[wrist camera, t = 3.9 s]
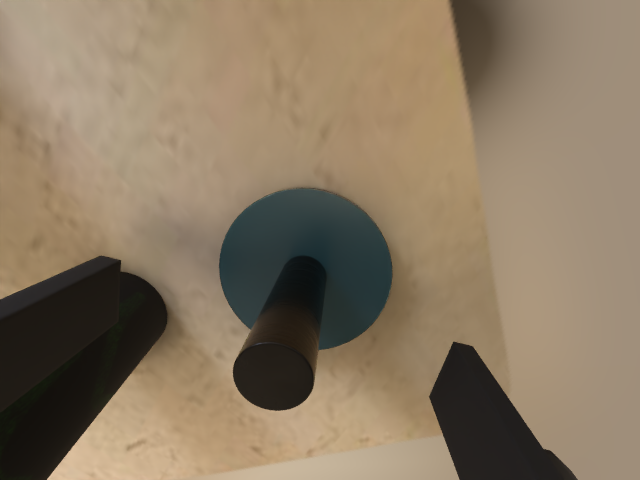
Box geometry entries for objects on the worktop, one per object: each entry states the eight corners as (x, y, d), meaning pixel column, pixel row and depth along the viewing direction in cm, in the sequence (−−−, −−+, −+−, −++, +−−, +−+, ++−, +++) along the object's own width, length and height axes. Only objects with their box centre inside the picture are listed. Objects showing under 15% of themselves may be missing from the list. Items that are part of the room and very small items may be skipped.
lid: (412, 210, 16) (491, 274, 8) (363, 355, 19) (381, 521, 11) (239, 167, 17) (125, 182, 8) (216, 319, 19) (113, 454, 11)
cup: (67, 245, 19) (-374, 394, 7) (185, 268, 18) (-71, 457, 7) (75, 347, 21) (-251, 584, 9) (180, 368, 21) (-20, 635, 9)
